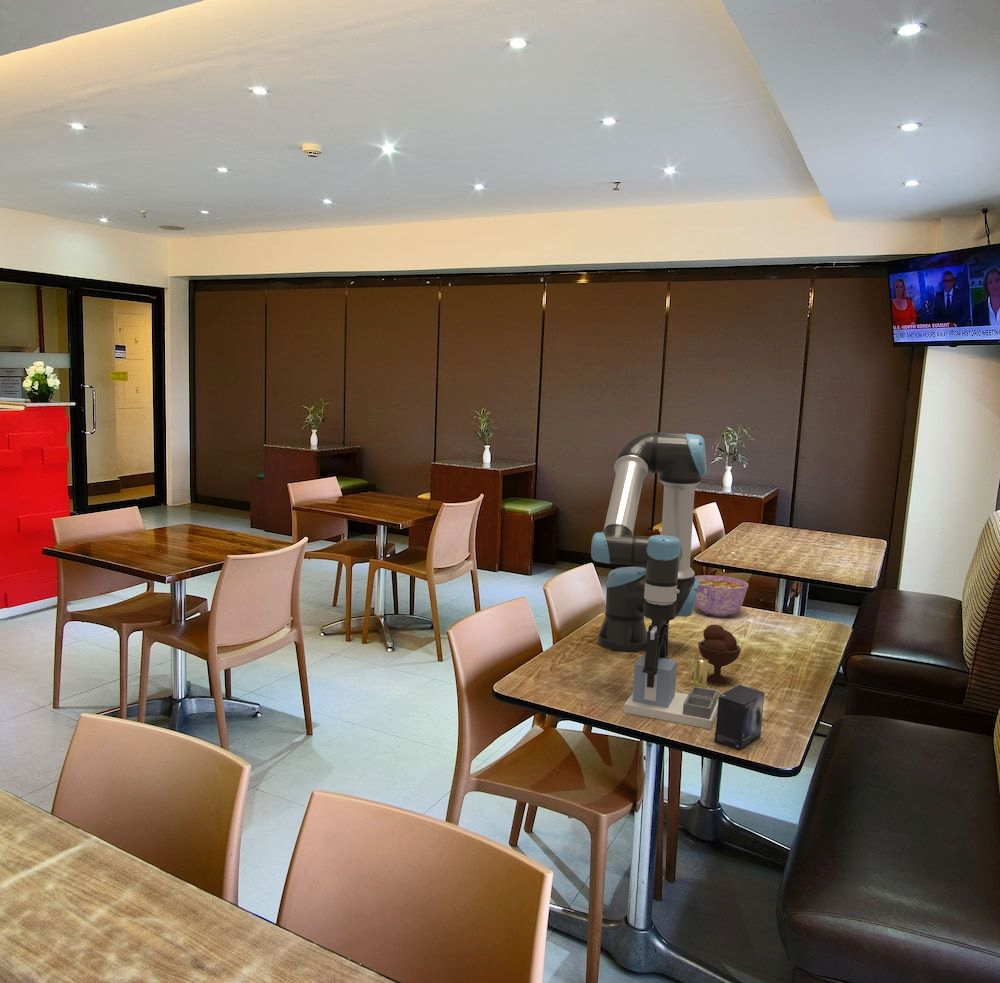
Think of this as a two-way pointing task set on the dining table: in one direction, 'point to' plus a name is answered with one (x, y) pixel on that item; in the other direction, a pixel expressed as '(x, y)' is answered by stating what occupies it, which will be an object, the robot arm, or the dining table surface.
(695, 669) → the brass pin
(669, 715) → the pin board
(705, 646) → the ice cream bowl
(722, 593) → the bowl of food
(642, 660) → the cover
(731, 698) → the small box
